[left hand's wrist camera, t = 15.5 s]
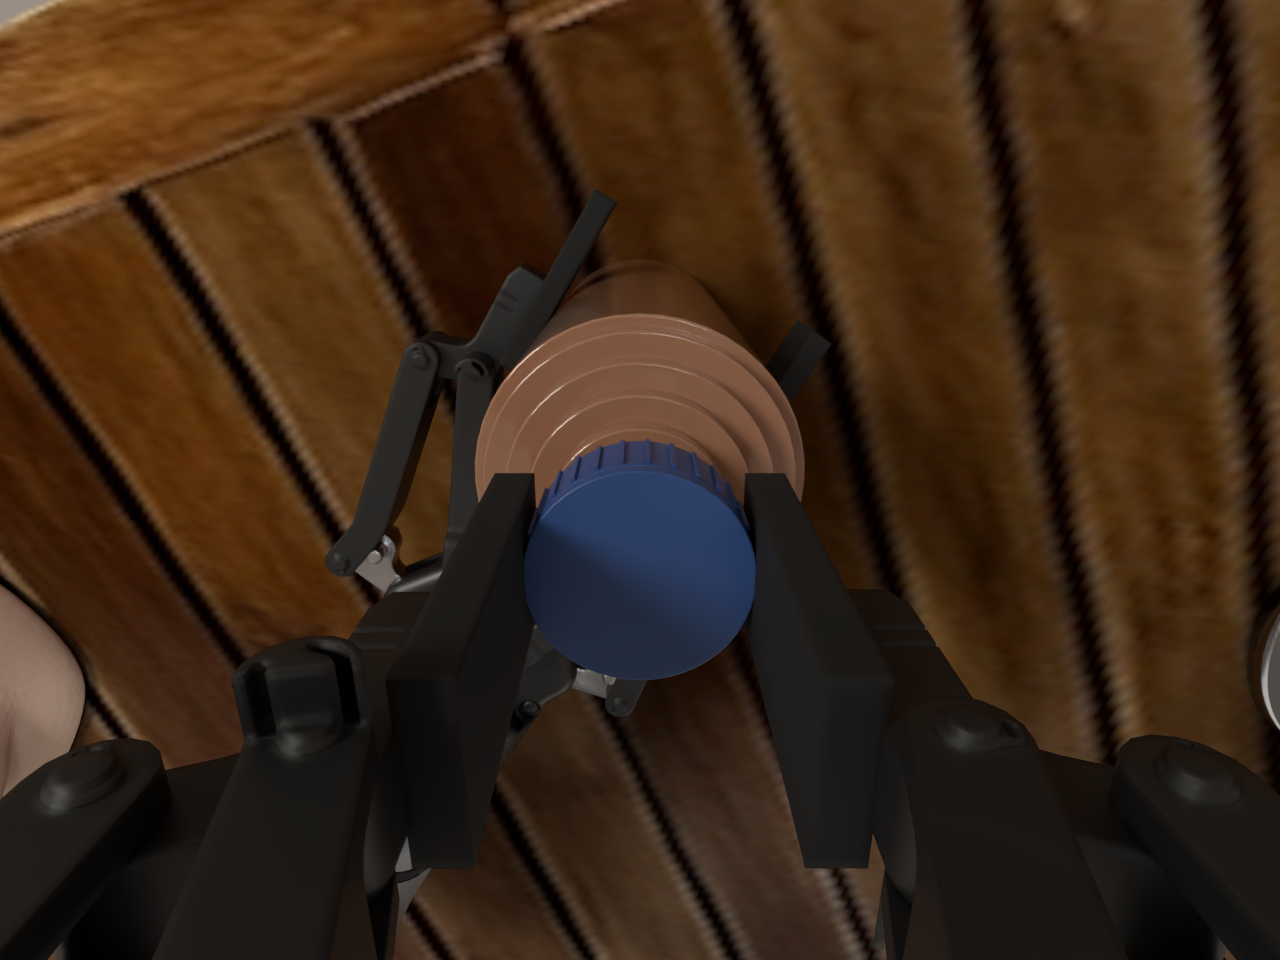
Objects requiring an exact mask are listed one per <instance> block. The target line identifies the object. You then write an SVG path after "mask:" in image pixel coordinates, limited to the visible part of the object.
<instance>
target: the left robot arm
mask: <svg viewBox="0 0 1280 960" xmlns="http://www.w3.org/2000/svg"><path fill="white" fill-rule="evenodd" d="M743 508H744V511H745V514H746V517H747V520H748V523H749V526H750V529H749V530H748V533H749V536H750V539H751V542H752V546H753V549H754V552H755V557H756V571H755V588H754V601H753V604H752V608H751V610H750V612H749V615H748V617H747V619H746V621H745V627H746V631H747V635H748V639H749V643H750V647H751V651H752V655H753V659H754V663H755V667H756V671H757V675H758V679H759V683H760V687H761V691H762V695H763V699H764V703H765V707H766V711H767V715H768V719H769V724H770V728H771V732H772V736H773V740H774V744H775V748H776V752H777V756H778V760H779V764H780V768H781V772H782V776H783V780H784V784H785V788H786V792H787V796H788V800H789V804H790V808H791V812H792V816H793V820H794V824H795V829H796V833H797V837H798V841H799V845H800V849H801V853H802V857H803V861H804V865H805V868H868V862H869V855H870V848H871V841H872V834H873V835H874V837H875V840H876V843H877V845H878V848H879V851H880V854H881V856H882V859H883V862H884V864H885V871H884V877H883V884H882V890H881V897H880V903H879V910H878V917H877V923H876V930H875V937H874V944H873V947H877V948H882V949H883V946H884V940H885V946H886V955H887V960H1226V959H1225V957H1224V955H1225V952H1226V950H1227V949H1228V950H1229V951H1230V952H1231V953H1232V955H1233V956H1234V957H1235V958H1236V959H1237V960H1280V795H1279V794H1278V793H1277V792H1276V791H1274V790H1273V789H1272V788H1271V787H1270V786H1269V785H1268V784H1267V783H1265V782H1264V781H1263V780H1262V779H1261V778H1260V777H1259V776H1257V775H1256V774H1254V773H1253V772H1252V771H1250V770H1249V769H1247V768H1246V767H1245V766H1243V765H1242V764H1240V763H1239V762H1238V761H1236V760H1235V759H1233V758H1231V757H1229V756H1226V755H1224V754H1222V753H1220V752H1218V751H1216V750H1214V749H1212V748H1210V747H1208V746H1206V745H1203V744H1200V743H1197V742H1192V741H1190V740H1186V739H1182V738H1178V737H1171V736H1161V735H1146V736H1141V737H1135V738H1131V739H1130V740H1129V741H1128V742H1126V743H1125V744H1124V745H1123V746H1122V747H1121V748H1120V751H1119V755H1118V758H1117V762H1116V765H1115V767H1113V766H1108V765H1103V764H1099V763H1094V762H1089V761H1085V760H1080V759H1075V758H1071V757H1066V756H1061V755H1058V754H1054V753H1051V752H1047V751H1043V750H1040V749H1038V746H1037V744H1036V742H1035V740H1034V738H1033V737H1032V736H1031V734H1030V733H1029V731H1028V730H1027V729H1026V727H1025V726H1024V725H1023V724H1022V723H1021V722H1019V721H1018V720H1016V719H1015V718H1014V717H1012V716H1011V715H1010V714H1008V713H1007V712H1006V711H1004V710H1002V709H999V708H997V707H995V706H993V705H990V704H988V703H986V702H984V701H980V700H976V699H973V698H972V696H971V695H970V693H969V692H968V690H967V689H966V687H965V686H964V684H963V683H962V681H961V680H960V678H959V677H958V675H957V674H956V672H955V671H954V669H953V668H952V667H951V665H950V664H949V662H948V661H947V659H946V658H945V656H944V655H943V653H942V652H941V650H940V649H939V647H936V645H935V644H936V643H935V641H934V640H933V638H932V637H931V635H930V634H929V632H928V631H927V630H925V628H924V627H925V626H924V625H923V623H922V622H921V620H920V619H919V617H918V616H917V614H916V613H915V611H914V610H913V608H912V607H911V606H910V605H908V604H907V603H906V602H904V601H903V600H901V599H900V598H898V597H897V596H895V595H894V594H892V593H891V592H890V591H888V590H887V589H846V587H845V585H844V584H843V582H842V580H841V578H840V576H839V574H838V572H837V570H836V568H835V567H834V565H833V563H832V561H831V559H830V557H829V555H828V553H827V552H826V550H825V548H824V546H823V544H822V542H821V540H820V538H819V537H818V535H817V533H816V531H815V529H814V527H813V525H812V523H811V521H810V520H809V518H808V516H807V514H806V512H805V510H804V508H803V506H802V505H801V503H800V501H799V499H798V497H797V495H796V493H795V491H794V490H793V488H792V486H791V484H790V482H789V480H788V478H787V476H786V475H785V473H745V486H744V505H743ZM535 509H536V495H535V476H534V473H495V474H494V475H493V477H492V479H491V481H490V483H489V485H488V487H487V489H486V491H485V492H484V494H483V496H482V498H481V500H480V502H479V504H478V506H477V507H476V509H475V511H474V513H473V515H472V517H471V519H470V521H469V522H468V524H467V526H466V528H465V530H464V532H463V534H462V536H461V537H460V539H459V541H458V543H457V545H456V547H455V549H454V551H453V552H452V554H451V556H450V558H449V560H448V562H447V564H446V566H445V568H444V569H443V571H442V573H441V575H440V577H439V579H438V581H437V583H436V584H435V586H434V588H433V590H432V592H392V593H391V594H389V595H388V596H386V597H385V598H384V599H382V600H381V601H379V602H378V603H376V604H375V605H373V606H372V607H371V608H369V609H368V610H367V612H366V613H365V615H364V616H363V618H362V620H361V621H360V623H359V624H358V626H357V627H356V629H355V633H352V635H351V636H350V638H349V639H348V640H346V639H342V638H339V637H335V636H309V637H304V638H299V639H294V640H289V641H285V642H282V643H280V644H277V645H274V646H272V647H269V648H267V649H264V650H262V651H260V652H259V653H257V654H255V655H254V656H252V657H251V658H249V659H248V660H246V661H245V662H243V663H242V664H241V665H240V666H239V668H238V669H237V670H236V671H235V672H234V673H233V675H232V676H231V682H232V686H233V691H234V695H235V699H236V704H237V708H238V712H239V717H240V721H241V725H242V730H243V734H244V739H245V743H244V745H243V748H242V750H241V752H240V753H237V754H234V755H230V756H226V757H223V758H219V759H215V760H210V761H205V762H201V763H196V764H192V765H187V766H182V767H178V768H173V769H168V770H165V768H164V764H163V761H162V757H161V753H160V751H159V750H158V749H157V748H156V747H155V746H153V745H152V744H151V743H150V742H149V741H143V740H138V739H133V738H124V739H113V740H104V741H100V742H96V743H91V744H90V745H85V746H82V747H79V748H76V749H73V750H71V751H69V752H67V753H65V754H63V755H61V756H59V757H57V758H55V759H53V760H51V761H49V762H47V763H45V764H44V765H42V766H41V767H39V768H38V769H37V770H35V771H34V772H33V773H31V774H30V775H28V776H27V777H26V778H24V779H23V780H21V781H20V782H19V783H18V784H17V785H16V786H15V787H14V788H12V789H11V790H10V791H9V792H8V793H7V794H6V795H5V796H4V797H2V798H1V799H0V960H47V959H48V958H49V957H50V956H51V955H52V953H53V952H54V954H55V957H56V959H57V960H393V957H394V947H395V938H396V929H397V920H398V911H399V901H400V899H399V891H398V884H397V877H396V871H395V867H396V864H397V861H398V859H399V856H400V853H401V850H402V848H403V845H404V842H405V840H406V837H407V838H408V845H409V852H410V859H411V866H412V868H474V867H475V863H476V859H477V855H478V851H479V847H480V843H481V839H482V835H483V831H484V827H485V823H486V818H487V814H488V810H489V806H490V802H491V798H492V794H493V790H494V786H495V782H496V778H497V774H498V770H499V766H500V762H501V758H502V754H503V750H504V746H505V742H506V738H507V734H508V730H509V726H510V722H511V718H512V714H513V710H514V705H515V701H516V697H517V693H518V689H519V685H520V681H521V677H522V673H523V669H524V665H525V661H526V657H527V653H528V649H529V645H530V641H531V637H532V633H533V629H534V625H535V622H534V620H533V618H532V616H531V613H530V611H529V609H528V607H527V603H526V595H525V579H524V554H525V550H526V547H527V544H528V541H529V538H527V537H526V535H527V532H528V529H529V527H530V524H531V521H532V518H533V515H534V512H535ZM1247 671H1248V681H1249V686H1250V690H1251V694H1252V696H1253V699H1254V701H1255V703H1256V705H1257V707H1258V709H1259V711H1260V712H1261V714H1262V715H1263V716H1264V717H1265V719H1266V720H1267V721H1268V722H1269V723H1270V724H1271V725H1272V726H1273V727H1274V728H1275V729H1276V730H1277V731H1279V732H1280V585H1279V586H1278V588H1277V589H1276V590H1275V592H1274V593H1273V595H1272V596H1271V598H1270V599H1269V601H1268V603H1267V604H1266V606H1265V607H1264V609H1263V611H1262V613H1261V615H1260V617H1259V620H1258V622H1257V624H1256V627H1255V630H1254V632H1253V635H1252V639H1251V643H1250V647H1249V654H1248V668H1247Z"/></svg>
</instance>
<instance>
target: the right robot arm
mask: <svg viewBox="0 0 1280 960" xmlns="http://www.w3.org/2000/svg"><path fill="white" fill-rule="evenodd" d="M616 204H617V202H616V201H614V200H612V199H611V198H609V197H608V196H606V195H605V194H603V193H602V192H600V191H598V190H595V189H594V191H593V193H592V195H591V197H590V199H589V200H588V202H587V204H586V206H585V208H584V209H583V211H582V213H581V215H580V217H579V218H578V220H577V222H576V224H575V226H574V227H573V229H572V231H571V233H570V235H569V237H568V238H567V240H566V242H565V244H564V246H563V247H562V249H561V251H560V253H559V255H558V256H557V258H556V260H555V262H554V264H553V265H552V267H551V269H550V271H549V273H548V275H545V274H544V273H542V272H540V271H539V270H537V269H536V268H534V267H532V266H531V265H529V264H527V263H524V264H523V265H521V266H519V267H518V268H517V269H516V270H514V271H513V272H512V273H511V274H509V275H508V276H507V278H506V280H505V282H504V284H503V286H502V287H501V289H500V291H499V293H498V295H497V297H496V299H495V301H494V303H493V304H492V306H491V308H490V310H489V312H488V314H487V316H486V317H485V319H484V321H483V323H482V325H481V327H480V329H479V331H478V332H477V334H476V336H475V337H473V338H469V339H463V338H457V337H452V336H449V335H447V334H445V333H444V332H441V331H433V332H430V333H428V334H427V335H425V336H423V337H422V338H420V339H418V340H417V341H415V342H414V343H412V344H411V345H409V346H408V347H407V348H406V350H405V351H404V353H403V357H402V360H401V363H400V367H399V370H398V373H397V377H396V380H395V384H394V387H393V390H392V394H391V397H390V400H389V404H388V407H387V410H386V414H385V417H384V420H383V424H382V427H381V431H380V434H379V437H378V441H377V444H376V447H375V451H374V454H373V457H372V461H371V464H370V467H369V471H368V474H367V478H366V481H365V484H364V488H363V491H362V494H361V498H360V501H359V504H358V508H357V511H356V514H355V518H354V521H353V524H352V525H351V526H350V527H349V528H348V530H347V531H346V532H345V533H344V534H343V535H342V537H341V538H340V539H339V540H338V541H337V543H336V544H335V545H334V546H333V547H332V549H331V550H330V551H329V552H328V553H327V555H326V557H325V564H326V566H327V568H328V570H329V571H330V572H331V573H333V574H335V575H337V576H342V577H345V576H349V575H351V574H352V573H354V572H357V573H358V574H360V575H361V576H362V577H364V578H365V579H366V580H368V581H369V582H371V583H372V584H373V585H375V586H376V587H377V588H379V589H380V590H382V591H383V592H384V593H385V595H384V598H385V597H386V596H388V595H389V594H391V593H392V592H432V590H433V588H434V586H435V584H436V583H437V581H438V579H439V577H440V575H441V573H442V571H443V569H444V568H445V566H446V564H447V562H448V560H449V558H450V556H451V554H452V552H453V551H454V549H455V547H456V545H457V543H458V541H459V539H460V537H461V536H462V534H463V532H464V530H465V528H466V526H467V524H468V522H469V521H470V519H471V517H472V515H473V513H474V511H475V509H476V507H477V506H478V504H479V501H478V495H477V489H476V483H475V456H476V447H477V440H478V436H479V432H480V429H481V425H482V421H483V419H484V416H485V414H486V411H487V409H488V407H489V404H490V402H491V400H492V398H493V397H494V395H495V393H496V392H497V390H498V388H499V387H500V385H501V383H502V382H503V376H504V367H505V368H507V369H508V370H510V371H511V370H512V369H513V368H514V366H515V365H516V364H517V362H518V361H519V360H520V358H521V357H522V356H523V355H524V353H525V352H526V351H527V349H528V348H529V347H530V345H531V344H532V343H533V341H534V340H535V339H536V337H537V336H538V335H539V334H540V332H541V331H542V330H543V328H544V327H545V326H546V324H547V323H548V322H549V320H550V319H551V318H552V317H553V315H554V314H555V312H556V310H557V308H558V307H559V305H560V303H561V301H562V300H563V298H564V296H565V294H566V293H567V291H568V289H569V287H570V285H571V284H572V282H573V280H574V278H575V277H576V275H577V273H578V271H579V270H580V268H581V266H582V264H583V262H584V261H585V259H586V257H587V255H588V254H589V252H590V250H591V248H592V247H593V245H594V243H595V241H596V240H597V238H598V236H599V234H600V232H601V231H602V229H603V227H604V225H605V224H606V222H607V220H608V218H609V217H610V215H611V213H612V211H613V209H614V208H615V206H616ZM830 345H831V343H830V342H828V341H827V340H826V339H824V338H823V337H822V336H820V335H819V334H818V333H816V332H815V331H813V330H812V329H810V328H809V327H807V326H806V325H804V324H803V323H801V322H800V321H797V322H796V324H795V325H794V326H793V328H792V329H791V331H790V332H789V334H788V335H787V337H786V338H785V340H784V341H783V343H782V344H781V346H780V347H779V348H778V350H777V351H776V353H775V354H774V356H773V357H772V359H771V360H770V362H769V363H768V365H767V366H766V368H767V369H768V371H769V372H770V373H771V374H772V376H773V377H774V378H775V380H776V381H777V383H778V384H779V386H780V388H781V389H782V391H783V392H784V394H785V395H786V397H787V399H788V401H789V403H790V402H791V401H792V399H793V398H794V397H795V395H796V394H797V392H798V391H799V389H800V388H801V387H802V385H803V384H804V382H805V381H806V379H807V378H808V377H809V375H810V374H811V372H812V371H813V370H814V368H815V367H816V365H817V364H818V362H819V361H820V360H821V358H822V357H823V355H824V354H825V353H826V351H827V350H828V348H829V347H830ZM445 378H448V379H453V380H457V395H456V411H455V426H454V442H453V458H452V474H451V489H450V505H449V521H448V531H447V535H446V538H445V543H444V552H441V553H439V554H436V555H434V556H431V557H428V558H426V559H423V560H421V561H418V562H416V563H413V564H410V565H408V566H405V565H404V564H403V563H402V561H401V560H400V557H399V550H400V548H401V545H402V536H401V534H400V530H399V529H398V527H396V526H394V525H393V523H394V522H395V521H396V519H397V518H398V516H399V515H400V513H401V511H402V509H403V507H404V505H405V502H406V500H407V497H408V493H409V490H410V487H411V484H412V481H413V478H414V475H415V472H416V469H417V465H418V462H419V459H420V456H421V453H422V450H423V447H424V444H425V441H426V437H427V434H428V431H429V428H430V425H431V422H432V419H433V416H434V413H435V409H436V406H437V403H438V400H439V397H440V394H441V391H442V388H443V385H444V381H445ZM646 681H647V680H628V679H620V678H614V677H609V676H606V675H602V674H599V673H596V672H593V671H591V670H589V669H586V668H584V667H582V666H580V665H578V664H577V663H575V662H573V661H571V660H570V659H568V658H567V657H566V656H564V655H563V654H562V653H560V652H559V651H558V650H557V649H556V648H555V647H554V646H553V645H552V644H551V643H550V642H549V641H548V640H547V639H546V638H545V636H544V635H543V634H542V633H541V631H540V630H539V628H538V627H537V625H536V623H535V625H534V629H533V633H532V637H531V641H530V645H529V649H528V653H527V657H526V661H525V665H524V669H523V673H522V677H521V681H520V685H519V689H518V693H517V697H516V701H515V705H514V710H513V714H512V718H511V722H510V726H509V730H508V734H507V738H506V742H505V746H504V750H503V754H502V758H501V762H500V766H499V770H498V772H499V771H500V769H501V768H502V766H503V765H504V763H505V762H506V761H507V759H508V758H509V756H510V755H511V753H512V752H513V750H514V749H515V747H516V746H517V745H518V743H519V742H520V740H521V739H522V737H523V736H524V734H525V733H526V731H527V730H528V728H529V727H530V726H531V724H532V723H533V721H534V720H535V718H536V717H537V715H538V714H539V712H540V711H541V709H542V708H543V706H544V705H545V704H546V703H547V702H549V701H550V700H552V699H553V698H555V697H557V696H559V695H561V694H563V693H565V692H566V691H568V690H569V689H570V688H574V689H577V690H580V691H584V692H587V693H590V694H593V695H596V696H599V697H602V698H605V699H606V701H605V706H606V710H607V711H608V712H609V713H610V714H611V715H613V716H616V717H624V716H627V715H629V714H630V713H631V712H632V711H633V709H634V707H635V705H636V703H637V701H638V699H639V696H640V694H641V692H642V690H643V688H644V686H645V683H646ZM431 869H432V868H412V866H411V859H410V852H409V845H408V838H407V837H406V840H405V842H404V845H403V848H402V850H401V853H400V856H399V859H398V861H397V864H396V867H395V871H396V877H397V884H398V891H399V899H400V901H399V911H398V920H397V929H396V936H397V933H398V930H399V927H400V924H401V921H402V919H403V916H404V914H405V912H406V910H407V908H408V906H409V904H410V902H411V900H412V898H413V896H414V895H415V893H416V892H417V890H418V889H419V887H420V885H421V884H422V882H423V881H424V879H425V878H426V876H427V875H428V873H429V872H430V870H431ZM395 939H396V938H395Z"/></svg>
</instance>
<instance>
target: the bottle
mask: <svg viewBox="0 0 1280 960" xmlns="http://www.w3.org/2000/svg"><path fill="white" fill-rule="evenodd" d="M645 439H650V442H658V443H663V444H668V445H669V444H670V443H673V444H674V446H675V447H678V448H681V449H683V450H686V451H688V452H690V453H692V451H693V452H695V453H696V454H697V457H699V458H700V459H702V460H703V461H705V462H706V463H708V464H709V465H710V466H711V465H712V464H713V465H714V466H715V467H716V469H717V472H718V473H719V474H720V475H721V476H722V478H723V479H724V480H725V481H726V482H728V481H729V482H730V483H731V485H732V488H733V491H734V494H735V497H736V499H737V501H739V500H741V502H742V505H744V486H745V473H785V475H786V476H787V478H788V480H789V482H790V484H791V486H792V488H793V490H794V491H795V493H796V495H797V497H798V499H799V501H800V503H801V500H802V494H803V487H804V480H805V457H804V450H803V443H802V437H801V433H800V430H799V426H798V423H797V419H796V417H795V414H794V412H793V410H792V408H791V405H790V403H789V401H788V399H787V397H786V395H785V394H784V392H783V391H782V389H781V388H780V386H779V384H778V383H777V381H776V380H775V378H774V377H773V376H772V374H771V373H770V372H769V371H768V369H767V368H766V367H765V365H764V364H763V363H762V361H761V360H760V359H759V357H758V356H757V355H756V353H755V352H754V351H753V349H752V348H751V347H750V346H749V344H748V343H747V342H746V340H745V339H744V338H743V336H742V335H741V334H740V332H739V331H738V330H737V328H736V327H735V326H734V325H733V323H732V322H731V321H730V319H729V318H728V317H727V315H726V314H725V313H724V311H723V310H722V309H721V307H720V306H719V305H718V303H717V302H716V301H715V300H714V298H713V297H712V296H711V294H710V293H709V292H708V291H707V290H706V288H705V287H704V286H703V285H702V284H701V283H700V282H699V281H697V280H696V279H695V278H694V277H693V276H691V275H690V274H688V273H687V272H685V271H684V270H682V269H680V268H678V267H676V266H673V265H670V264H668V263H665V262H661V261H656V260H650V259H631V260H624V261H619V262H615V263H612V264H610V265H607V266H604V267H602V268H600V269H598V270H597V271H595V272H593V273H592V274H590V275H589V276H587V277H586V278H585V279H583V280H582V281H581V282H580V283H579V284H578V285H577V286H576V287H575V288H574V289H573V291H572V292H571V293H570V294H569V296H568V297H567V298H566V300H565V301H564V302H563V303H562V305H561V306H560V307H559V309H558V310H557V311H556V313H555V314H554V315H553V317H552V318H551V319H550V320H549V322H548V323H547V324H546V326H545V327H544V328H543V330H542V331H541V332H540V334H539V335H538V336H537V337H536V339H535V340H534V341H533V343H532V344H531V345H530V347H529V348H528V349H527V351H526V352H525V353H524V355H523V356H522V357H521V358H520V360H519V361H518V362H517V364H516V365H515V366H514V368H513V369H512V370H511V372H510V373H509V374H508V375H507V377H506V378H505V379H504V381H503V382H502V383H501V385H500V387H499V388H498V390H497V392H496V393H495V395H494V397H493V398H492V400H491V402H490V404H489V407H488V409H487V411H486V414H485V416H484V419H483V421H482V425H481V429H480V432H479V436H478V440H477V447H476V456H475V483H476V489H477V495H478V501H479V502H480V500H481V498H482V496H483V494H484V492H485V491H486V489H487V487H488V485H489V483H490V481H491V479H492V477H493V475H494V474H495V473H534V476H535V495H536V508H538V507H539V504H540V501H541V498H542V495H543V492H544V490H545V488H548V489H549V488H550V486H551V485H552V483H553V482H554V480H555V479H556V476H557V473H558V472H559V471H560V470H561V471H562V472H563V470H565V469H566V468H567V467H568V466H569V465H571V464H572V463H573V462H574V461H575V459H576V457H577V456H580V457H582V456H584V455H586V454H588V453H590V452H592V451H594V450H596V449H597V446H600V445H601V446H602V447H605V446H608V445H611V444H616V443H621V440H625V442H629V441H645Z"/></svg>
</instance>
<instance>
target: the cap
mask: <svg viewBox="0 0 1280 960" xmlns="http://www.w3.org/2000/svg"><path fill="white" fill-rule="evenodd" d="M749 529H750V526H749V523H748V520H747V517H746V514H745V511H744V508H743V505H742V502H741V500H739V501H737V499H736V497H735V494H734V491H733V488H732V485H731V483H730V482H729V481H728V482H726V481H725V480H724V479H723V478H722V476H721V475H720V474H719V473H718V472H717V469H716V467H715V466H714V465H713V464H712V465H711V466H710V465H709V464H708V463H706V462H705V461H703V460H702V459H700V458H699V457H697V454H696V453H695V452H693V451H692V453H690V452H688V451H686V450H683V449H681V448H678V447H675V446H674V444H673V443H670V444H669V445H668V444H663V443H658V442H650V439H645V441H629V442H625V440H621V443H616V444H611V445H608V446H605V447H602V446H601V445H600V446H597V449H596V450H594V451H592V452H590V453H588V454H586V455H584V456H582V457H580V456H577V457H576V459H575V461H574V462H573V463H572V464H571V465H569V466H568V467H567V468H566V469H565V470H563V472H562V471H561V470H560V471H559V472H558V473H557V476H556V479H555V480H554V482H553V483H552V485H551V486H550V488H549V489H548V488H545V490H544V492H543V495H542V498H541V501H540V504H539V507H538V508H536V509H535V512H534V515H533V518H532V521H531V524H530V527H529V529H528V532H527V535H526V537H527V538H529V541H528V544H527V547H526V550H525V554H524V579H525V595H526V603H527V607H528V609H529V611H530V613H531V616H532V618H533V620H534V622H535V623H536V625H537V627H538V628H539V630H540V631H541V633H542V634H543V635H544V636H545V638H546V639H547V640H548V641H549V642H550V643H551V644H552V645H553V646H554V647H555V648H556V649H557V650H558V651H559V652H560V653H562V654H563V655H564V656H566V657H567V658H568V659H570V660H571V661H573V662H575V663H577V664H578V665H580V666H582V667H584V668H586V669H589V670H591V671H593V672H596V673H599V674H602V675H606V676H609V677H614V678H620V679H628V680H653V679H660V678H666V677H670V676H674V675H677V674H681V673H684V672H686V671H689V670H691V669H694V668H696V667H698V666H699V665H701V664H703V663H705V662H707V661H708V660H710V659H711V658H712V657H714V656H715V655H717V654H718V653H719V652H720V651H721V650H723V649H724V648H725V647H726V646H727V645H728V644H729V643H730V642H731V641H732V639H733V638H734V637H735V636H736V635H737V633H738V632H739V630H740V629H741V627H742V626H743V624H744V623H745V621H746V619H747V617H748V615H749V612H750V610H751V608H752V604H753V601H754V588H755V571H756V557H755V552H754V549H753V546H752V542H751V539H750V536H749V533H748V530H749Z"/></svg>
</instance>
